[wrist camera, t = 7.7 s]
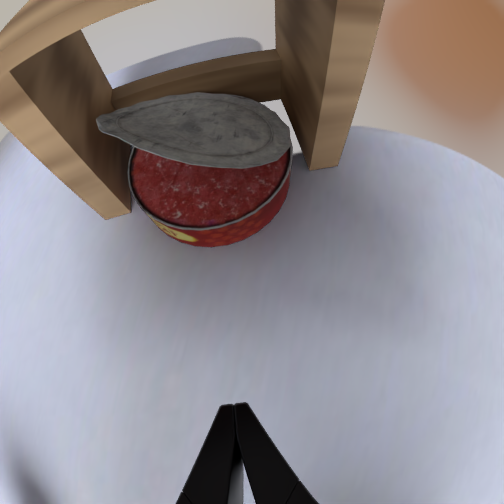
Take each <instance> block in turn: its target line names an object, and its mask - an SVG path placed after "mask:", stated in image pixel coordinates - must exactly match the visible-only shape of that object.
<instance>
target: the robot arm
mask: <svg viewBox="0 0 504 504" xmlns="http://www.w3.org/2000/svg"><path fill="white" fill-rule="evenodd" d="M243 463H244V467H245V470H246V473H247V477H248V480H249V483H250V486H251V490H252V493H253V496H254V499H255V502H256V504H319V503H318V502H317V501H316V500H315V499H314V497H313V496H312V495H311V494H310V493H309V491H308V490H307V489H306V488H305V486H304V485H303V484H302V482H301V481H299V478H298V477H297V476H296V474H295V473H294V471H293V470H292V469H291V467H290V466H289V464H288V463H287V462H286V460H285V459H284V457H283V456H282V455H281V453H280V452H279V450H278V449H277V447H276V446H275V444H274V443H273V441H272V440H271V438H270V437H269V435H268V434H267V432H266V431H265V429H264V428H263V426H262V425H261V423H260V422H259V420H258V419H257V417H256V416H255V414H254V412H253V411H252V409H251V408H250V406H249V405H248V403H246V402H243V403H236V404H234V405H233V404H225V405H221V406H220V407H219V410H218V412H217V414H216V416H215V419H214V421H213V423H212V426H211V428H210V430H209V432H208V435H207V437H206V439H205V441H204V444H203V446H202V448H201V450H200V452H199V455H198V457H197V459H196V461H195V464H194V466H193V468H192V470H191V472H190V474H189V477H188V479H187V481H186V483H185V485H184V487H183V489H182V491H183V492H181V493H180V496H179V498H178V500H177V502H176V504H243Z"/></svg>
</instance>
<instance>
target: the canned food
mask: <svg viewBox="0 0 504 504" xmlns="http://www.w3.org/2000/svg"><path fill="white" fill-rule="evenodd" d="M96 121H97V125H98V128H99V130H100V131H101V132H103V133H106V134H108V135H111V136H114V137H117V138H119V139H121V140H123V141H125V142H127V143H128V144H130V145H132V146H134V147H133V149H132V152H131V155H130V158H129V164H128V181H129V187H130V190H131V192H132V195H133V198H134V199H135V201H136V202H137V204H138V205H139V206H140V208H141V209H142V210H143V211H144V212H145V213H146V214H147V215H148V216H149V217H150V218H151V220H152V221H153V222H154V223H155V224H156V225H157V226H158V228H160V229H161V230H162V231H163V232H164V233H166V234H167V235H168V236H170V237H172V238H173V239H175V240H177V241H179V242H181V243H185V244H189V245H193V246H200V247H217V246H224V245H229V244H232V243H235V242H239V241H242V240H244V239H246V238H248V237H250V236H251V235H253V234H255V233H257V232H258V231H260V230H261V229H262V228H263V227H264V226H266V225H267V224H268V223H269V222H270V221H271V220H272V219H273V218H274V216H275V215H276V214H277V213H278V212H279V210H280V208H281V206H282V204H283V203H284V201H285V199H286V196H287V192H288V188H289V182H290V172H291V164H292V151H293V147H292V143H291V139H290V130H289V127H288V126H287V125H286V124H285V123H284V122H283V121H282V120H281V119H280V118H279V117H278V115H277V114H276V113H275V112H273V111H271V110H270V109H269V108H267V107H266V106H265V105H263V104H261V103H259V102H257V101H254V100H252V99H249V98H245V97H242V96H237V95H229V94H211V93H200V92H196V93H189V94H183V95H168V96H165V97H161V98H158V99H155V100H149V101H143V102H140V103H137V104H135V105H132V106H130V107H126V108H121V109H118V110H116V111H114V112H112V113H108V114H102V115H100V116H99V117H98V118H97V119H96Z"/></svg>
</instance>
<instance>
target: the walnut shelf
mask: <svg viewBox="0 0 504 504" xmlns="http://www.w3.org/2000/svg"><path fill="white" fill-rule="evenodd" d="M152 1H155V0H29V1H28V2H27V3H26V4H25V5H24V6H23V8H21V10H20V11H19V12H18V13H17V14H16V15H15V16H14V17H13V18H12V19H11V20H10V22H9V23H8V24H7V25H6V26H5V27H4V29H3V30H2V31H1V32H0V121H1V123H2V124H3V125H4V126H5V127H6V128H7V129H8V130H9V131H10V132H11V133H12V134H13V135H14V136H15V137H16V138H17V139H18V140H19V141H20V142H21V143H22V144H23V145H24V146H25V147H26V148H27V149H28V150H29V151H30V152H31V153H32V154H33V155H34V156H35V157H36V158H37V159H38V160H39V161H41V162H42V163H43V164H44V165H45V166H46V167H47V168H48V169H49V170H50V171H51V172H52V173H53V174H54V175H55V176H57V177H58V178H59V179H60V180H61V181H62V182H63V183H64V184H65V185H66V186H67V187H69V188H70V189H71V190H72V191H73V192H74V193H75V194H76V195H78V196H79V197H80V198H81V199H82V200H83V201H84V202H85V203H87V204H88V205H89V206H90V207H91V208H92V209H94V210H95V211H96V212H97V213H98V214H99V215H101V216H102V217H103V218H104V219H105V220H107V219H110V218H114V217H117V216H120V215H124V214H127V213H131V197H130V187H129V181H128V164H129V158H130V144H128V143H127V142H125V141H123V140H121V139H119V138H117V137H114V136H111V135H108V134H106V133H103V132H101V131H100V130H99V128H98V125H97V121H96V119H97V118H98V117H99V116H100V115H102V114H108V113H112V112H114V111H116V110H118V109H121V108H126V107H130V106H132V105H135V104H137V103H140V102H143V101H149V100H155V99H158V98H161V97H165V96H168V95H183V94H189V93H196V92H200V93H211V94H229V95H237V96H242V97H245V98H249V99H252V100H254V101H257V102H259V103H260V102H266V101H272V100H279V99H281V100H282V103H283V105H284V107H285V110H286V112H287V115H288V117H289V119H290V122H291V124H292V127H293V129H294V131H295V134H296V137H297V139H298V142H299V144H300V147H301V150H302V152H303V155H304V158H305V160H306V163H307V166H308V168H309V171H311V170H316V169H322V168H328V167H334V166H338V163H339V160H340V157H341V154H342V151H343V148H344V145H345V142H346V139H347V136H348V132H349V129H350V126H351V123H352V119H353V116H354V113H355V110H356V106H357V103H358V100H359V96H360V93H361V90H362V86H363V83H364V79H365V76H366V72H367V69H368V65H369V61H370V58H371V54H372V50H373V47H374V43H375V39H376V35H377V31H378V27H379V23H380V19H381V14H382V11H383V6H384V2H385V0H275V31H276V49H272V50H264V51H257V52H250V53H244V54H238V55H232V56H227V57H222V58H217V59H212V60H208V61H203V62H199V63H195V64H191V65H187V66H183V67H179V68H175V69H172V70H168V71H165V72H161V73H158V74H155V75H152V76H149V77H145V78H142V79H139V80H136V81H134V82H131V83H128V84H125V85H122V86H120V87H117V88H114V89H112V87H111V85H110V84H109V82H108V80H107V78H106V76H105V74H104V73H103V71H102V69H101V67H100V65H99V63H98V62H97V60H96V58H95V56H94V54H93V52H92V50H91V48H90V46H89V45H88V43H87V41H86V39H85V37H84V35H83V33H82V31H81V29H82V28H84V27H86V26H89V25H91V24H93V23H95V22H98V21H100V20H102V19H105V18H107V17H110V16H112V15H115V14H117V13H120V12H123V11H125V10H128V9H131V8H134V7H137V6H140V5H142V4H145V3H149V2H152Z"/></svg>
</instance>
